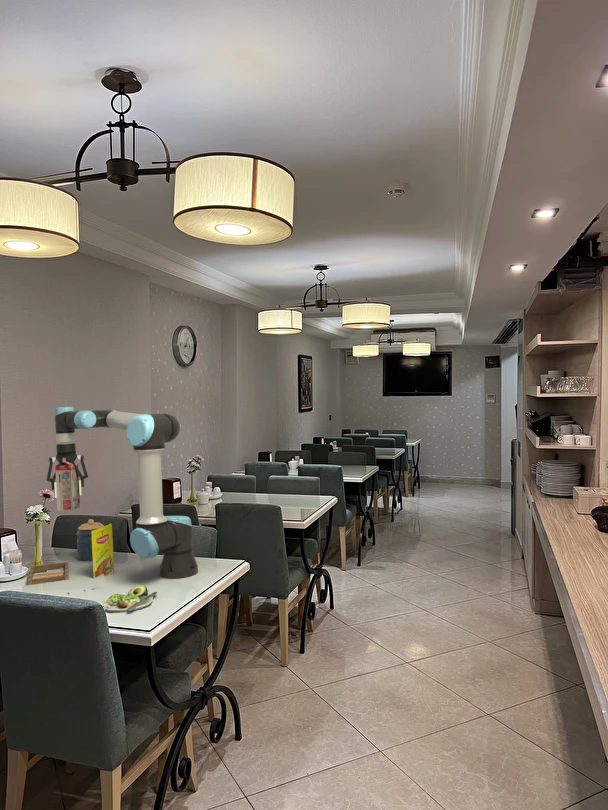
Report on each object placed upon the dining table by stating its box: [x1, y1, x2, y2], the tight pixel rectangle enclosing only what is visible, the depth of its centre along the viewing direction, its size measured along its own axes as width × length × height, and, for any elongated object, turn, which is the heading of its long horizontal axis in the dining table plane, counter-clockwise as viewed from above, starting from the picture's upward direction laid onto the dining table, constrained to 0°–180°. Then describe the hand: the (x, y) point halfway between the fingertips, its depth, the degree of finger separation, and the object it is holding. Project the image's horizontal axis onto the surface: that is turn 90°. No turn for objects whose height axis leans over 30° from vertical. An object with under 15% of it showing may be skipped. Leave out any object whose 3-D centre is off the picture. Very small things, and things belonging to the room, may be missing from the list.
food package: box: [91, 522, 115, 579], centre depth 239 cm, size 15×1×20 cm, turn 168°
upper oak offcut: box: [32, 570, 65, 580], centre depth 233 cm, size 5×11×2 cm, turn 107°
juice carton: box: [55, 458, 81, 512], centre depth 251 cm, size 7×7×22 cm
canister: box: [75, 518, 105, 562], centre depth 271 cm, size 13×13×18 cm
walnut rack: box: [27, 561, 70, 586], centre depth 238 cm, size 21×14×4 cm
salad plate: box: [102, 584, 158, 613], centre depth 202 cm, size 19×18×5 cm
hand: (68, 496), depth 251 cm, fingers closed on juice carton, 9 cm apart
